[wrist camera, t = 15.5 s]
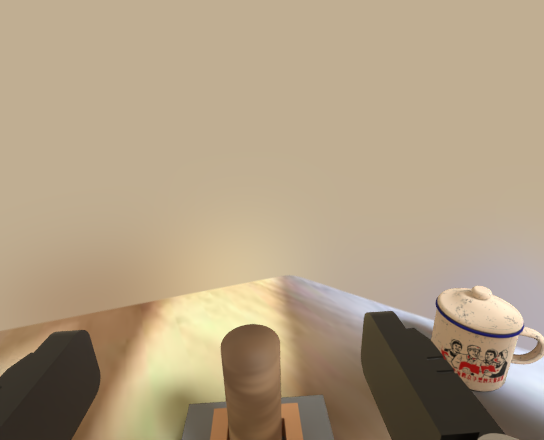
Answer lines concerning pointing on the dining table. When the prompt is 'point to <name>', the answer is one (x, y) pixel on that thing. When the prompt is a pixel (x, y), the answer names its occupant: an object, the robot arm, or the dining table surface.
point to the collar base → (294, 412)
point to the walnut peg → (252, 383)
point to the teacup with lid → (481, 336)
